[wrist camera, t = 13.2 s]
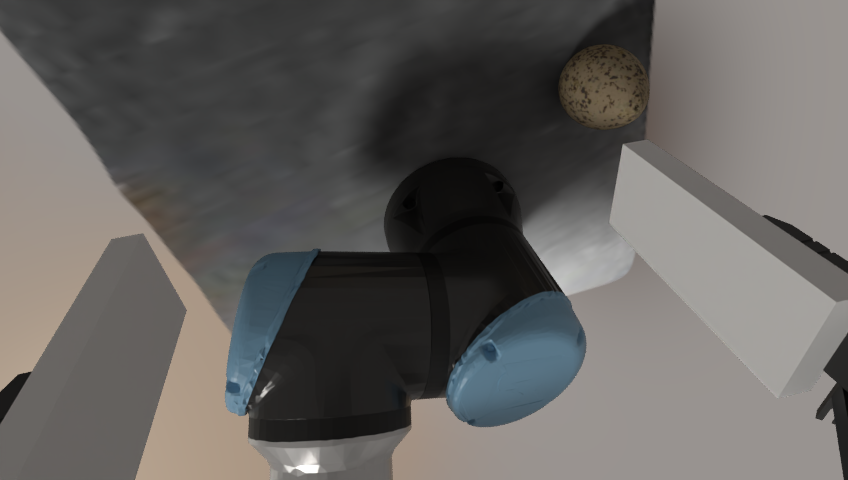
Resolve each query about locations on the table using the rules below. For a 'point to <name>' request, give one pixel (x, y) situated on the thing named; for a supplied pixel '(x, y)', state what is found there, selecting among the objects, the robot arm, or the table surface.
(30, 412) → the robot arm
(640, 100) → the decorative egg
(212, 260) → the table surface
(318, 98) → the table surface
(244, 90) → the table surface
